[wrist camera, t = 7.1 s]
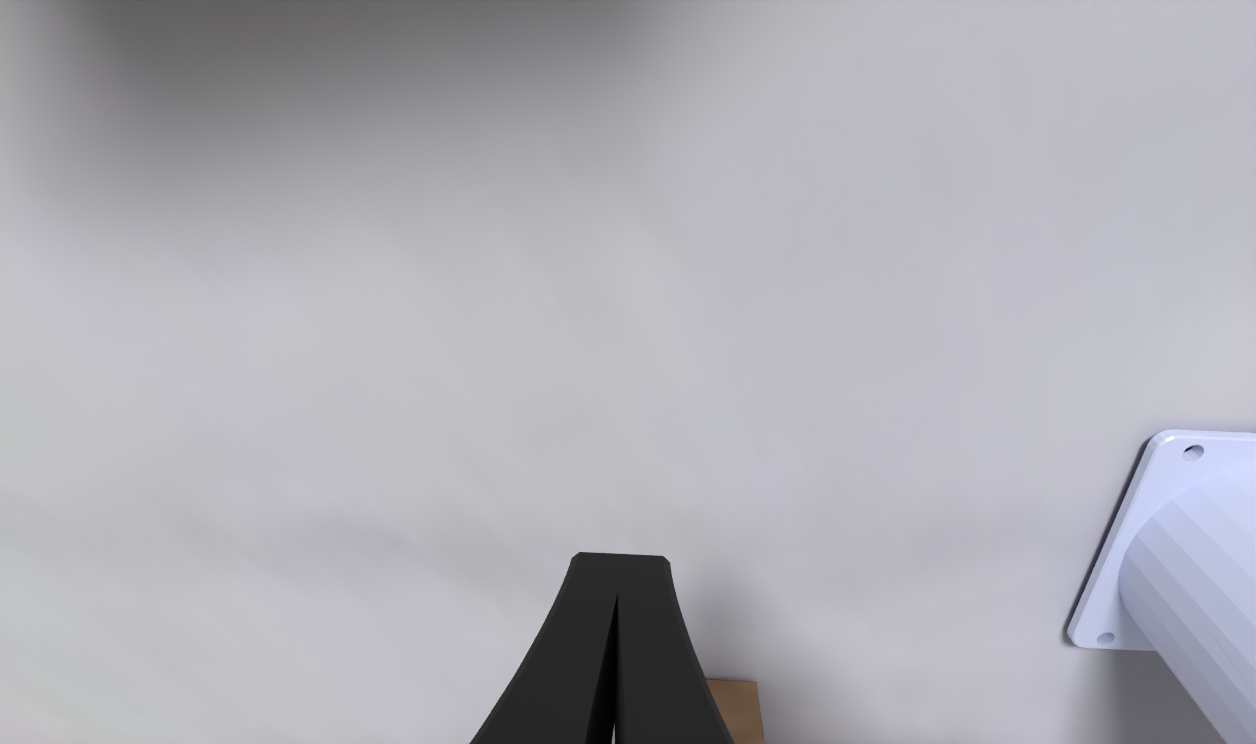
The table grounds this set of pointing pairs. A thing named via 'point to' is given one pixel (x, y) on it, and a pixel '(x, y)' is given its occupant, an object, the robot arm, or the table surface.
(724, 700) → the clip
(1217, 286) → the table surface
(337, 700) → the table surface
